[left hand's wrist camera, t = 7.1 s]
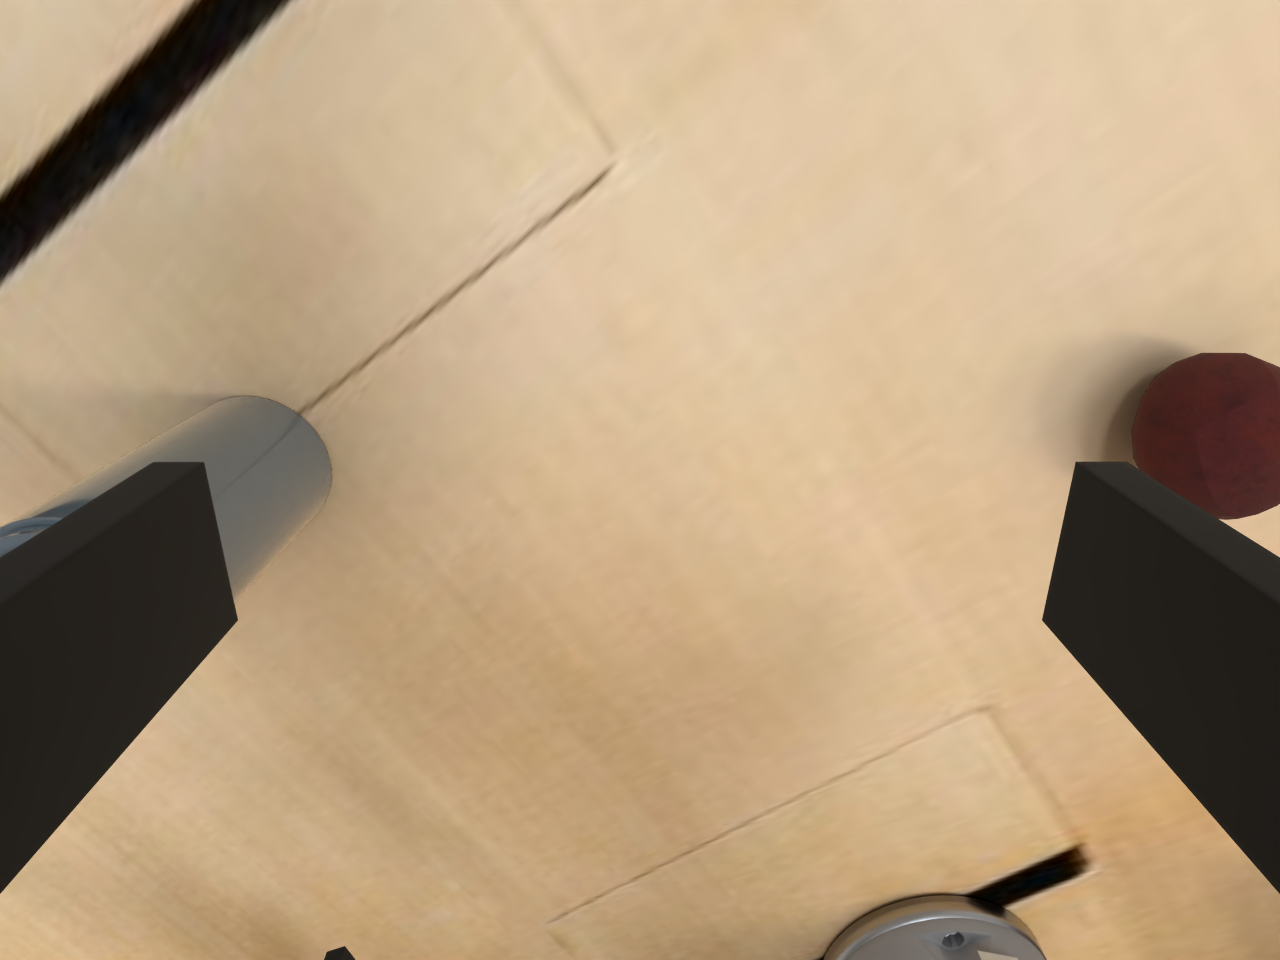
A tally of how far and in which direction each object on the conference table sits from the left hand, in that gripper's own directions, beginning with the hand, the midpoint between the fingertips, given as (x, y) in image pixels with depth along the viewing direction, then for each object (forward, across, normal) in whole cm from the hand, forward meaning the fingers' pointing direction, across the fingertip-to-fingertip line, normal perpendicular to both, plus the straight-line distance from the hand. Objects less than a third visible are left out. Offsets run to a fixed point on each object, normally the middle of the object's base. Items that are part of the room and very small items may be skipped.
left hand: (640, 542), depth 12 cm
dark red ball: (+28, +27, -6) cm, 39 cm away
